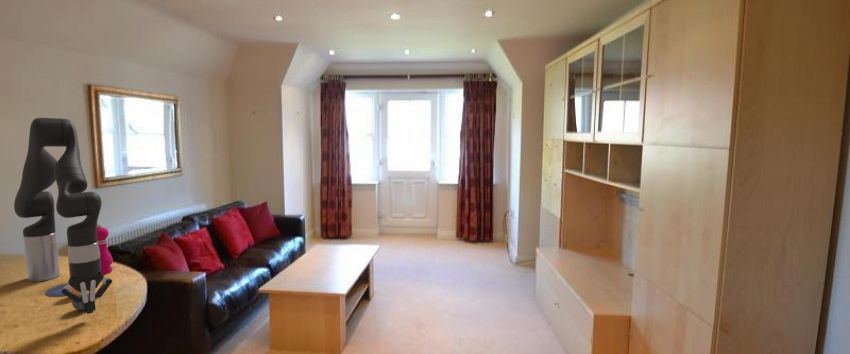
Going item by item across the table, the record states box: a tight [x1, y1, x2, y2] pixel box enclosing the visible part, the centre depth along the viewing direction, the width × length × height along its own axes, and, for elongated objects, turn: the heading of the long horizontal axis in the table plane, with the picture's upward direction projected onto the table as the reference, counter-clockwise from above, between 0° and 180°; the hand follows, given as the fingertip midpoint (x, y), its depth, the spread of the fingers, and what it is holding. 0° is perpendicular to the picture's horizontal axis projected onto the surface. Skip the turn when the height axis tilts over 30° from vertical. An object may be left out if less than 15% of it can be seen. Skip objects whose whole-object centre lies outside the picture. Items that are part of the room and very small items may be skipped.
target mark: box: [45, 282, 68, 298], centre depth 157 cm, size 14×14×1 cm
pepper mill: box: [97, 223, 114, 275], centre depth 172 cm, size 7×7×20 cm
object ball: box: [71, 286, 80, 295], centre depth 150 cm, size 6×6×6 cm
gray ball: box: [71, 292, 89, 311], centre depth 140 cm, size 6×6×6 cm
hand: (89, 312), depth 133 cm, fingers closed
